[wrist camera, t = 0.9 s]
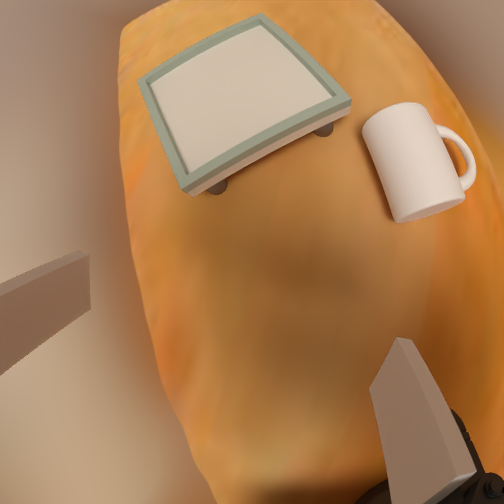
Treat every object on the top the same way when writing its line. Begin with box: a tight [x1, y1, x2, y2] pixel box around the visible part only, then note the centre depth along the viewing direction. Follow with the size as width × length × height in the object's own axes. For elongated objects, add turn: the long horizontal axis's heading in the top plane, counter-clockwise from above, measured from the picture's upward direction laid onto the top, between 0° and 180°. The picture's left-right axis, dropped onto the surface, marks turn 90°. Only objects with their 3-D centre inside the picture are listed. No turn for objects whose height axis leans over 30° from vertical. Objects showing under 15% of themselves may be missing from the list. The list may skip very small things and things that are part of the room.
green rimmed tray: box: [137, 13, 351, 197], centre depth 28 cm, size 18×18×7 cm
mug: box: [362, 102, 476, 223], centre depth 23 cm, size 12×10×8 cm
